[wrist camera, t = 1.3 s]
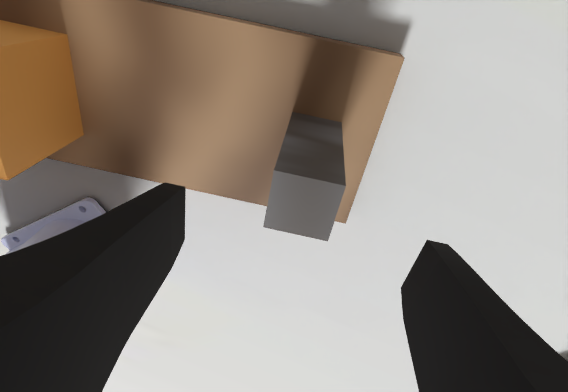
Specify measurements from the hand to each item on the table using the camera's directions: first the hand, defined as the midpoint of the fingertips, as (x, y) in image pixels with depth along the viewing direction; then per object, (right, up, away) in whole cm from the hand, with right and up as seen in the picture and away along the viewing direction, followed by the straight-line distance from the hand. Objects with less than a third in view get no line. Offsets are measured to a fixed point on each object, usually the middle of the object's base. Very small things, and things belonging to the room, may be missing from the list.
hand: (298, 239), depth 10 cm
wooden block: (-8, +7, +8) cm, 13 cm away
